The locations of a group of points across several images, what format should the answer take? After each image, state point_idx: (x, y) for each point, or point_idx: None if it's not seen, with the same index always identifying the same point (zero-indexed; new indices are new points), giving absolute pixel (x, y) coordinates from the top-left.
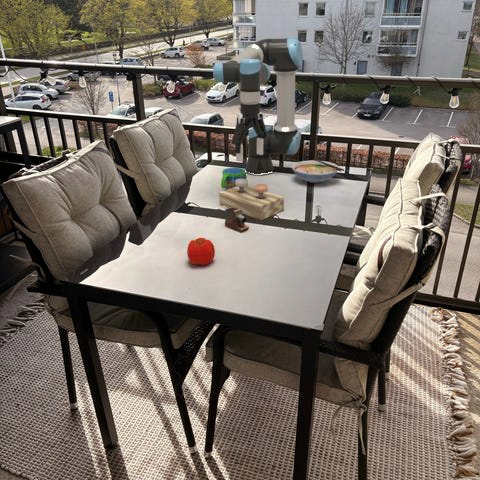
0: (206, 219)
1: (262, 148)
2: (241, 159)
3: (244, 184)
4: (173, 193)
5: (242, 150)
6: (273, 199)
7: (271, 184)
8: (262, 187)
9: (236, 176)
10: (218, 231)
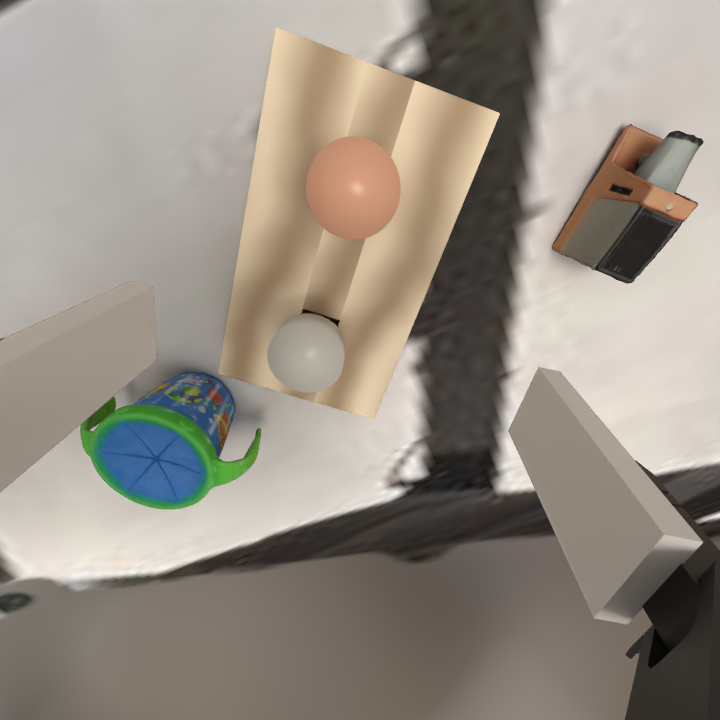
0: (538, 364)
1: (90, 312)
2: (570, 389)
3: (327, 325)
4: (336, 556)
5: (613, 458)
6: (354, 86)
7: (3, 294)
8: (378, 165)
9: (196, 426)
10: (662, 261)
